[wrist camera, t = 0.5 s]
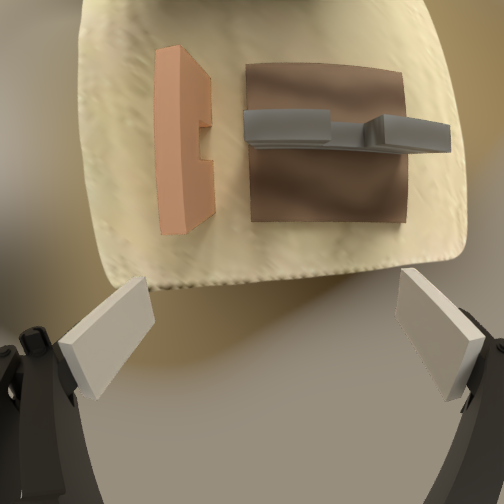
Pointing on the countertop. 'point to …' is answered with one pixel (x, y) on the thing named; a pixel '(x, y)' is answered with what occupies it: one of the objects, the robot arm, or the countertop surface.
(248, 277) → the countertop surface
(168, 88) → the terracotta plate
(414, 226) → the countertop surface
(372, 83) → the slotted stand
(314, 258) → the countertop surface
